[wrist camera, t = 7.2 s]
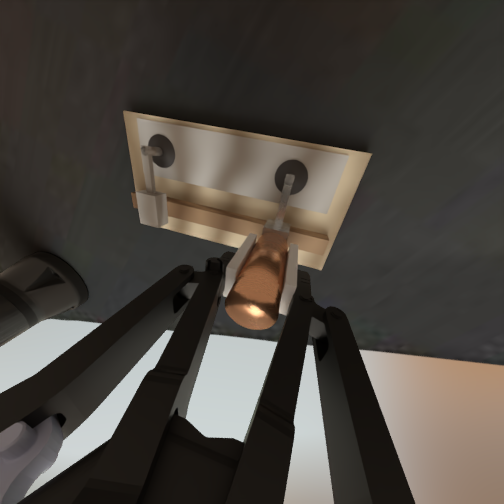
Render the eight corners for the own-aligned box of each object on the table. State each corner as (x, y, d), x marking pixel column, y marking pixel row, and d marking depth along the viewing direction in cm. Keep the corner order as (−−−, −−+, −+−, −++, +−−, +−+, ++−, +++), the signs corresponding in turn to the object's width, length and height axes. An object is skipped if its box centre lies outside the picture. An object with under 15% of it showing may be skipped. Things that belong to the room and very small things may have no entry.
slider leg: (260, 243, 24) (222, 322, 12) (276, 170, 19) (238, 187, 8) (285, 250, 23) (270, 338, 12) (307, 176, 19) (316, 204, 7)
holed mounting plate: (146, 219, 29) (119, 230, 25) (131, 112, 22) (90, 101, 18) (320, 265, 25) (324, 287, 21) (368, 154, 18) (388, 152, 14)
